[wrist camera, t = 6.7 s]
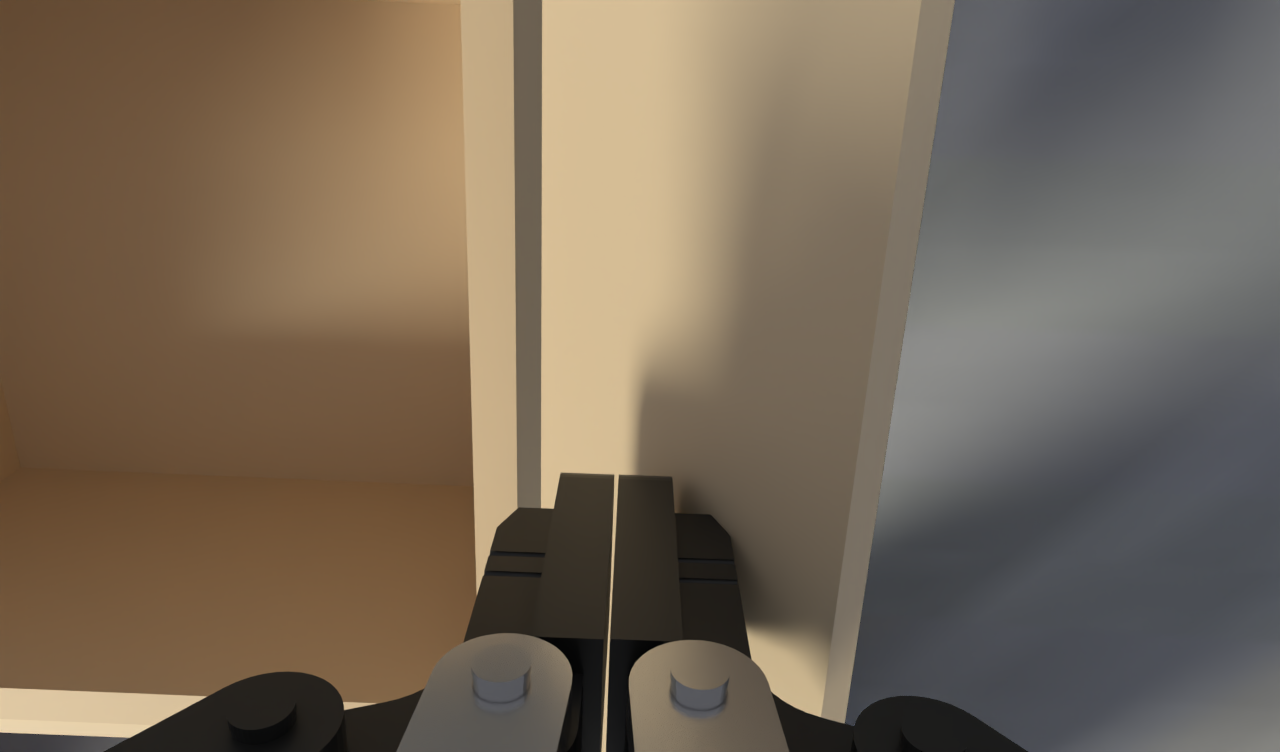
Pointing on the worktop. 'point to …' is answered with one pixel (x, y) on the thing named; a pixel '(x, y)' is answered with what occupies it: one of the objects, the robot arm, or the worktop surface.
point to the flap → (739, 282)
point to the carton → (259, 343)
